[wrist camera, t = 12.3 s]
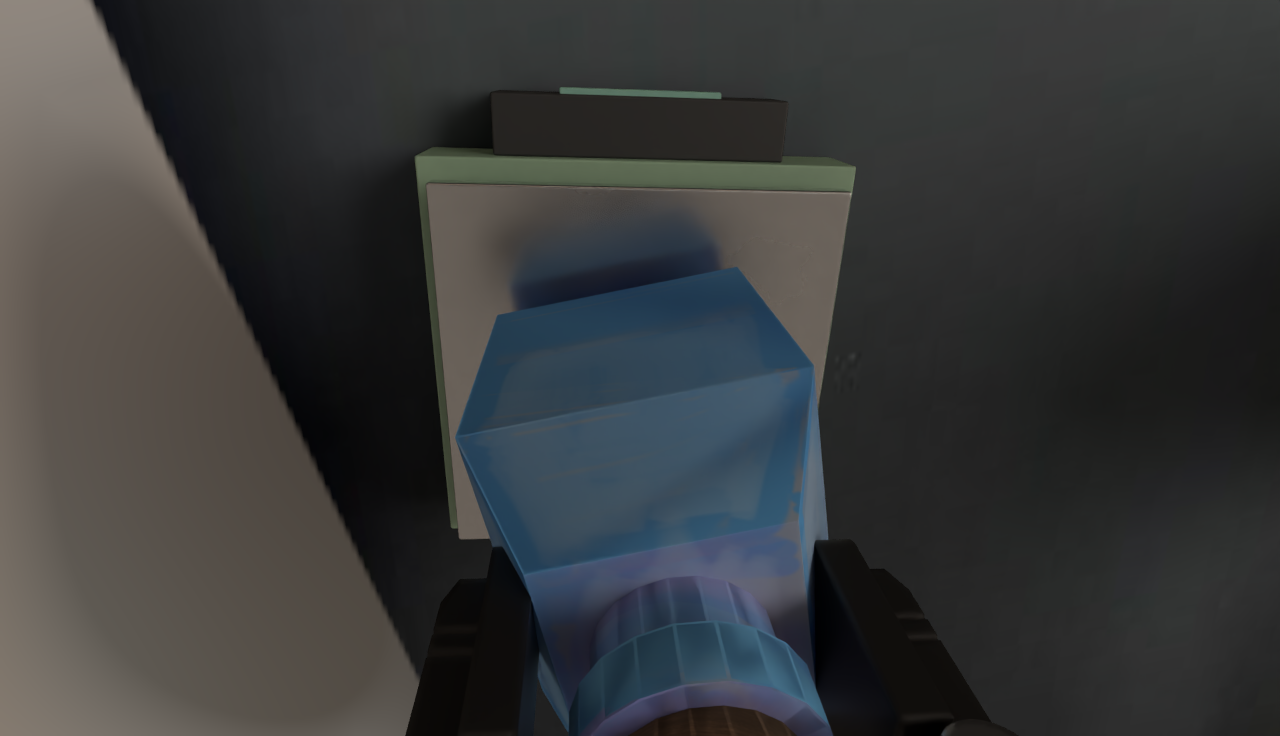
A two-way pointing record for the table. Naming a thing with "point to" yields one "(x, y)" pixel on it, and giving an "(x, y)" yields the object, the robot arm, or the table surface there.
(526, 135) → the scale
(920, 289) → the table surface
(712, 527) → the perfume bottle
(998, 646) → the table surface
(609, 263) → the pan
